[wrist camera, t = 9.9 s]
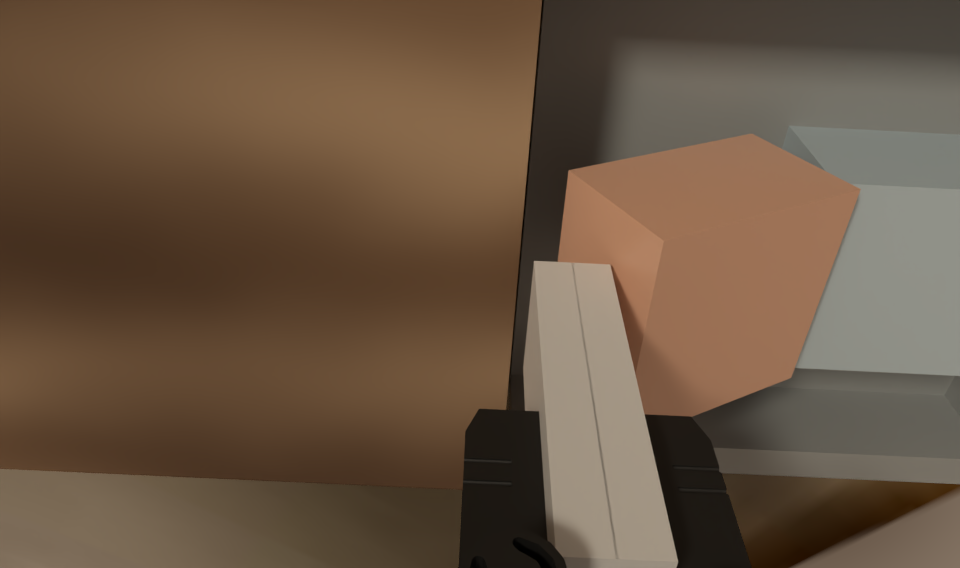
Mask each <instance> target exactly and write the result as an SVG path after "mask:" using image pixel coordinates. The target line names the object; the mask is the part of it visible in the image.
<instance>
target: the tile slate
mask: <svg viewBox="0 0 960 568" xmlns="http://www.w3.org/2000/svg"><path fill="white" fill-rule="evenodd" d="M782 149H783V150H785V151H787V152H789V153H791V154H793V155H795V156H797V157H799V158H801V159H803V160H805V161H807V162H809V163H811V164H813V165H814V166H816V167H818V168H820V169H822V170H824V171H826V172H828V173H830V174H832V175H834V176H836V177H838V178H840V179H842V180H844V181H846V182H848V183H850V184H852V185H854V186H856V187H858V188H859V189H861V190H860V193H859V195H858V198H857V201H856V204H855V206H854V209H853V212H852V214H851V217H850V220H849V223H848V225H847V228H846V231H845V233H844V236H843V239H842V241H841V244H840V247H839V250H838V252H837V255H836V258H835V260H834V263H833V266H832V269H831V271H830V274H829V277H828V279H827V282H826V285H825V287H824V290H823V293H822V296H821V298H820V301H819V304H818V306H817V309H816V312H815V315H814V317H813V320H812V323H811V325H810V328H809V331H808V333H807V336H806V339H805V342H804V344H803V347H802V350H801V352H800V355H799V358H798V361H797V363H796V366H795V368H806V369H826V370H847V371H867V372H888V373H908V374H929V375H949V376H960V135H958V134H939V133H919V132H900V131H881V130H862V129H842V128H823V127H804V126H789V127H788V130H787V134H786V137H785V140H784V144H783V147H782Z"/></svg>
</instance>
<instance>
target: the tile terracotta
mask: <svg viewBox="0 0 960 568" xmlns="http://www.w3.org/2000/svg"><path fill="white" fill-rule="evenodd" d="M860 190H861V189H859V188H858V187H856V186H854V185H852V184H850V183H848V182H846V181H844V180H842V179H840V178H838V177H836V176H834V175H832V174H830V173H828V172H826V171H824V170H822V169H820V168H818V167H816V166H814V165H813V164H811V163H809V162H807V161H805V160H803V159H801V158H799V157H797V156H795V155H793V154H791V153H789V152H787V151H785V150H783V149H781V148H779V147H777V146H775V145H773V144H771V143H769V142H768V141H766V140H764V139H762V138H760V137H758V136H756V135H754V134H747V135H742V136H737V137H732V138H727V139H722V140H717V141H712V142H707V143H702V144H697V145H692V146H687V147H682V148H677V149H672V150H667V151H662V152H657V153H652V154H647V155H642V156H637V157H632V158H627V159H622V160H617V161H612V162H607V163H602V164H597V165H592V166H587V167H582V168H577V169H572V170H569V171H568V179H567V188H566V196H565V204H564V213H563V221H562V229H561V237H560V246H559V254H558V262H570V263H590V264H610V266H611V270H612V274H613V279H614V283H615V288H616V292H617V296H618V301H619V305H620V309H621V314H622V318H623V323H624V327H625V331H626V336H627V340H628V344H629V349H630V353H631V357H632V362H633V366H634V371H635V375H636V379H637V384H638V388H639V392H640V397H641V401H642V406H643V410H644V414H648V415H670V416H691V417H693V416H695V415H698V414H700V413H703V412H705V411H708V410H710V409H713V408H716V407H718V406H721V405H723V404H726V403H728V402H731V401H733V400H736V399H739V398H741V397H744V396H746V395H749V394H751V393H754V392H756V391H759V390H762V389H764V388H767V387H769V386H772V385H774V384H777V383H779V382H782V381H785V380H787V379H790V378H791V377H792V374H793V371H794V369H795V366H796V363H797V361H798V358H799V355H800V352H801V350H802V347H803V344H804V342H805V339H806V336H807V333H808V331H809V328H810V325H811V323H812V320H813V317H814V315H815V312H816V309H817V306H818V304H819V301H820V298H821V296H822V293H823V290H824V287H825V285H826V282H827V279H828V277H829V274H830V271H831V269H832V266H833V263H834V260H835V258H836V255H837V252H838V250H839V247H840V244H841V241H842V239H843V236H844V233H845V231H846V228H847V225H848V223H849V220H850V217H851V214H852V212H853V209H854V206H855V204H856V201H857V198H858V195H859V193H860Z"/></svg>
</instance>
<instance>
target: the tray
mask: <svg viewBox="0 0 960 568" xmlns="http://www.w3.org/2000/svg"><path fill="white" fill-rule="evenodd" d="M789 126H804V127H823V128H842V129H862V130H881V131H900V132H919V133H939V134H958V135H960V0H543V5H542V16H541V28H540V39H539V50H538V62H537V73H536V84H535V95H534V107H533V118H532V129H531V141H530V152H529V163H528V175H527V186H526V197H525V209H524V220H523V231H522V243H521V254H520V265H519V277H518V288H517V299H516V311H515V322H514V333H513V344H512V356H511V367H510V378H509V390H508V393H509V410H520V411H525V398H524V375H523V364H524V354H525V344H526V335H527V325H528V315H529V305H530V295H531V285H532V276H533V266H534V261H548V262H558V254H559V246H560V237H561V229H562V221H563V213H564V204H565V196H566V188H567V179H568V171H569V170H572V169H577V168H582V167H587V166H592V165H597V164H602V163H607V162H612V161H617V160H622V159H627V158H632V157H637V156H642V155H647V154H652V153H657V152H662V151H667V150H672V149H677V148H682V147H687V146H692V145H697V144H702V143H707V142H712V141H717V140H722V139H727V138H732V137H737V136H742V135H747V134H754V135H756V136H758V137H760V138H762V139H764V140H766V141H768V142H769V143H771V144H773V145H775V146H777V147H779V148H781V149H782V147H783V144H784V140H785V137H786V134H787V130H788V127H789ZM692 418H693V419H694V421H695V422H696V423H697V424H698V425H699V427H700V428H701V429H702V430H703V431H704V433H705V434H706V435H707V436H708V437H709V439H710V440H711V442H712V445H713V448H714V451H715V455H716V458H717V461H718V464H719V472H721V473H729V474H751V475H773V476H795V477H816V478H838V479H860V480H882V481H904V482H925V483H947V484H960V376H949V375H929V374H908V373H888V372H867V371H847V370H826V369H806V368H795V369H794V371H793V374H792V377H791V378H790V379H787V380H785V381H782V382H779V383H777V384H774V385H772V386H769V387H767V388H764V389H762V390H759V391H756V392H754V393H751V394H749V395H746V396H744V397H741V398H739V399H736V400H733V401H731V402H728V403H726V404H723V405H721V406H718V407H716V408H713V409H710V410H708V411H705V412H703V413H700V414H698V415H695V416H693V417H692Z"/></svg>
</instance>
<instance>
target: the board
mask: <svg viewBox="0 0 960 568" xmlns="http://www.w3.org/2000/svg"><path fill="white" fill-rule="evenodd" d="M541 6H542V0H0V469H19V470H41V471H63V472H85V473H107V474H129V475H151V476H173V477H195V478H217V479H239V480H261V481H283V482H305V483H327V484H349V485H371V486H393V487H415V488H436V489H458V490H463V470H464V449H465V431H466V429H467V428H468V426H469V424H470V423H471V421H472V419H473V418H474V416H475V414H476V413H477V411H478V410H479V409H498V410H506V405H507V394H508V382H509V371H510V360H511V348H512V337H513V325H514V314H515V303H516V291H517V280H518V268H519V257H520V246H521V234H522V223H523V211H524V200H525V188H526V177H527V166H528V154H529V143H530V131H531V120H532V109H533V97H534V86H535V74H536V63H537V52H538V40H539V29H540V17H541Z"/></svg>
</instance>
